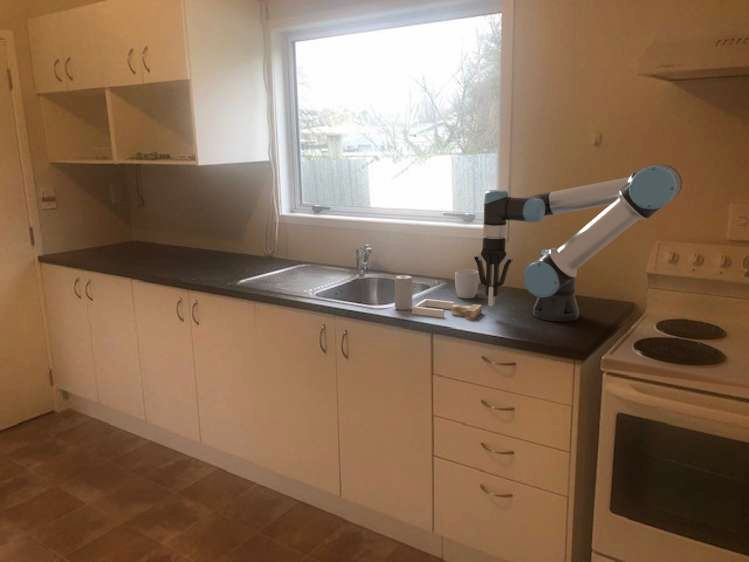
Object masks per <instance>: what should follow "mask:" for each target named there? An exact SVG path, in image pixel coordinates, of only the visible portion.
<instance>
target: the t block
mask: <svg viewBox="0 0 749 562" xmlns="http://www.w3.org/2000/svg"><path fill="white" fill-rule="evenodd" d="M482 307H483V306H482V304H475V303H473V304H472V305H462V304H456V303H455V304H454V305H453V306H452V309H451V315H453V316H462V317H465V319H466V320H472V321H473V320H475V319H476V318H478V317H479V316H480V315H481V314H482V310H483V309H482Z"/></svg>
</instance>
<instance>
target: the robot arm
mask: <svg viewBox="0 0 749 562" xmlns="http://www.w3.org/2000/svg"><path fill="white" fill-rule="evenodd" d="M682 187H683V179H682V176H681V174H680V172H679V171H678V170H677V169H676V168H675V167H673V166H671V165H668V164H655V165H649V166H646V167H644V168H641V169H640V170H638V171H637V172H633V173H630V176H629V177H623V178H618V179H611V180H607V181H602V182H596V183H591V184H586V185H581V186H576V187H570V188H566V189H560V190H556V191H550V192H546V193H537V194H534V195H531V196H527V197H513V196H509V192H508V191H507V190H505V189H504V190H503V189H489V190H487V191H486V192H485V194H484V201H483V226H482V227H483V228H482V231H483V232H482V236H483V237H482V247H481V248H482V249H481V251H480V254H478V255H476V256H474V258H473V259H474V261H475V262H476V265H477V271H478V272H479V283H480V284H481V285H484V286H485V295H486V296H487V297H488V299H487V301H488V303H487V306H488V307H494V305H495V301H496V297H497V296H498V294H499V287H502V286H503V285H504V284H505V280H506V278H507V275H508V271H509V267H510V265H511V263H512V262H513V258H512V257H509V256H508V255H507V252H506V241H507V239H506V236H507V221H518V222H528V223H541V222H542V220H543V219H544V217H547V216H554V215H558V214H564V213H565V214H566V213H569V212H575V211H582V210H588V209H593V208H599V207H605V206H607V207H606V208H604V209H603V210H602V211H601V212H599V214H597V215H596V216H595V217H594V218H593V219H592V220H590V221H589V222H588V223H587V224H586V225H584V226H583V227H582V228H581V229H580V230H578V231H577V232H576V233H575V234H574V235H573V236H571V237H570V238H569V239H568V240H567V241H565V242H564V243H563V244H562V245H561V246H559V247H558V248H555V247H551V248H550V249H543V250H541V254H540V257H538V258H537V259H536V260H535V261H533V262H531V263H530V264H528V266H527V267H526V268H525V269H524V272H523V277H522V278H523V285H524V286H525V288H526V290H527V291H528V292H529V293H530V294H532V295H533V296H535V297H537V298H536V301H535V303H534V306H533V312H532V313H533V314H532V315H533V317H535V318H537V319H540V320H543V321H549V322H571V321H577V319H579V316H580V315H579V314H580V310H579V306H578V302H577V299H576V296H575V293H576V292H575V291H576V279H577V275H578V272H577V271H578V269H579V268H580V267H582V265H584V264H585V263H586V262H587V261H589V260H590V259H591V258H592V257H594V256H595V255H596V254H597V253H599V252H600V251H601V250H602V249H604V248H605V247H606V246H608V244H611V242H612V241H614V240H615V239H616V238H618V237H619V236H620V235H621V234H622V233H624V232H625V231H626V230H627V229H629V228H630V227H631V226H632V225H634V224H635V223H636V222H637V221H638V220H648V219H650V218H651V217H652V216H653V215H655V214H656V213H657V212H659V211H660V210H661V209H662V208H664V206H666V205H668V204H669V203H670V202H672V201H673V200H675V199H676V197H678V196H679V194H680V193H681V190H682V189H683V188H682ZM483 261H485V263H486V264H485V265H486V266H485V268H486V271H485V268H484V264H483ZM503 261H504V265H503V269H502V272H501V275H500V265H501V263H502V262H503ZM492 270H493V271H492ZM492 272H493V283H492ZM492 284H493V285H492Z"/></svg>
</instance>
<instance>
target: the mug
mask: <svg viewBox="0 0 749 562" xmlns="http://www.w3.org/2000/svg"><path fill="white" fill-rule="evenodd" d="M454 275H455V276H454V286H455V292H456V295H457V297H458V298H461V299H474V298H475V297H476V295H477V293H478V290H479V289H478V288H479V283H480V277H479V272H478V270H476V269H465V268H464V269H457V270H456V271H455V273H454Z"/></svg>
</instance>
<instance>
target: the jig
mask: <svg viewBox="0 0 749 562" xmlns="http://www.w3.org/2000/svg"><path fill="white" fill-rule="evenodd" d="M454 304H455V305H456V302H455V301H447V300H438V299H429V298H428V299H426V298H424V299H423V300H421V301H419V302H418V303H416V304H415V305H412V308H411V309H412V311H411V313H412V315H418V316H426V317H435V318H436V317H437V318H444V317H445V310H446V309H447V310H452V306H453V305H454Z"/></svg>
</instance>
